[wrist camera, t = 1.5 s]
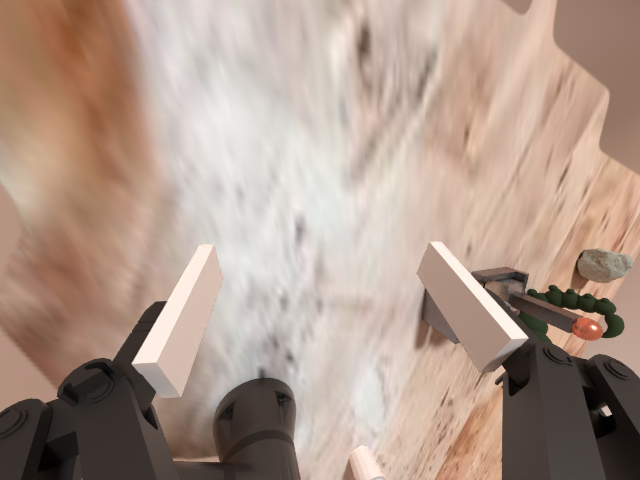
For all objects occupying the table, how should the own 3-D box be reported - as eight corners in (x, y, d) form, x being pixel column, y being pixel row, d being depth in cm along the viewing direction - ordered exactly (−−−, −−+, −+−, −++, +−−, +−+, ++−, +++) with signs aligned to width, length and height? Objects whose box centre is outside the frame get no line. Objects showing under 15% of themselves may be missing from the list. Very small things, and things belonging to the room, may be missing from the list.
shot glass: (364, 439, 56) (379, 472, 50) (375, 451, 59) (391, 484, 52) (342, 458, 55) (355, 494, 49) (354, 470, 58) (367, 506, 51)
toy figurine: (519, 273, 64) (480, 352, 62) (627, 298, 46) (575, 409, 45) (534, 285, 67) (497, 361, 66) (639, 314, 50) (591, 417, 48)
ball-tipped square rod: (495, 300, 60) (603, 349, 42) (481, 303, 58) (587, 355, 40) (500, 275, 58) (615, 315, 40) (486, 277, 57) (599, 319, 39)
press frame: (498, 305, 61) (538, 324, 53) (421, 321, 53) (454, 346, 45) (506, 266, 59) (549, 280, 50) (427, 277, 51) (463, 295, 42)
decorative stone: (569, 259, 67) (606, 287, 61) (609, 235, 63) (652, 263, 58) (557, 266, 77) (589, 291, 71) (592, 246, 73) (627, 270, 68)
